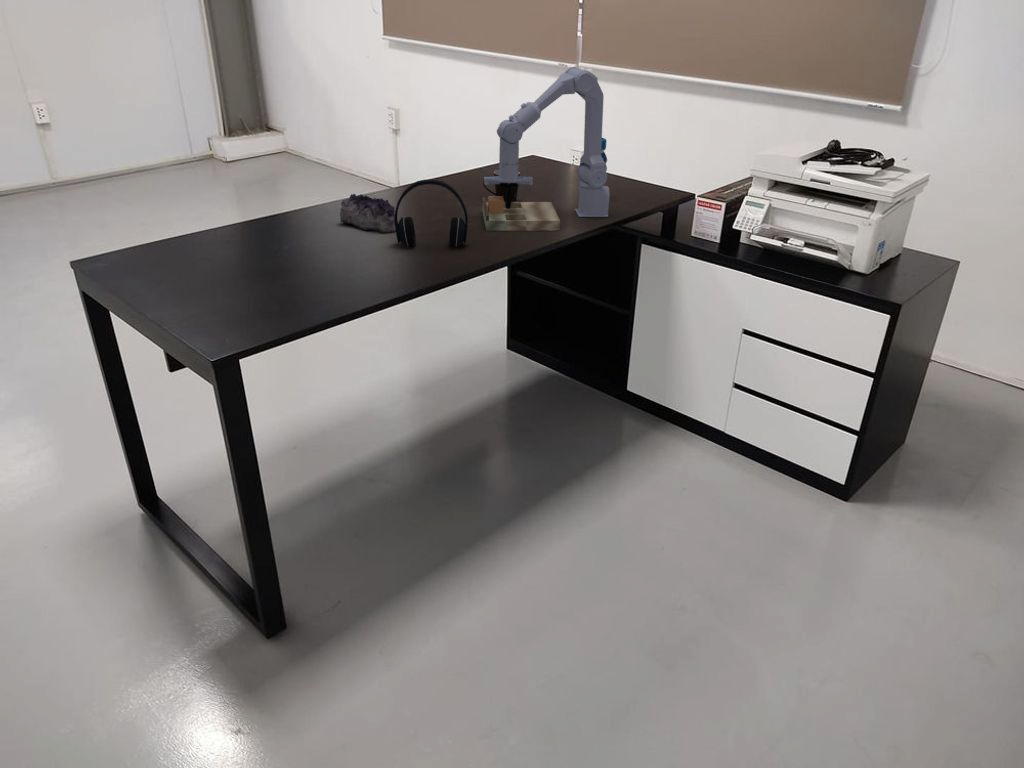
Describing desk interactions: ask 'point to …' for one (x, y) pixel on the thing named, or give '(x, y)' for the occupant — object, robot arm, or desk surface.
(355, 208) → the geode
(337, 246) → the desk surface
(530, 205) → the trap board
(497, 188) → the coffee mug
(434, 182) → the headphones
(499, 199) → the block
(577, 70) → the robot arm
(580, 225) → the desk surface
